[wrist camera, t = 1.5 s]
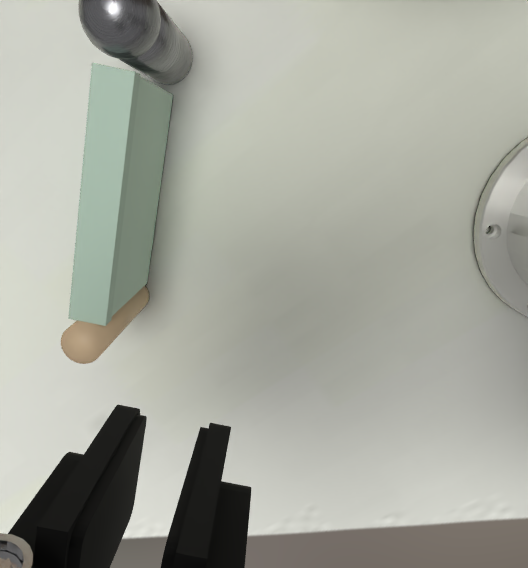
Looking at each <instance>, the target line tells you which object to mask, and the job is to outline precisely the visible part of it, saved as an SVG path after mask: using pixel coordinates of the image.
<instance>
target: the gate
mask: <svg viewBox="0 0 528 568" xmlns="http://www.w3.org/2000/svg"><path fill="white" fill-rule="evenodd" d="M172 100H173V95H172V94H170V93H169V92H167V91H165V90H163V89H162V88H160V87H158V86H157V85H155V84H153V83H151V82H150V81H148V80H146V79H144V78H143V77H141V76H140V74H138V73H136V72H134V71H129V70H124V69H120V68H115V67H110V66H105V65H101V64H96V63H92V70H91V81H90V92H89V103H88V113H87V124H86V135H85V146H84V157H83V167H82V178H81V189H80V200H79V211H78V221H77V232H76V243H75V254H74V265H73V275H72V286H71V297H70V308H69V319H73V320H77V321H76V322H75V323H74V324H73V325H71V326H70V327H69V328H68V329H66V330H65V331H64V333H63V335H62V337H61V346H62V349H63V351H64V353H65V354H66V356H67V357H68V358H70V359H71V360H73V361H74V362H77V363H82V364H86V363H91V362H93V361H95V360H96V359H97V358H98V357H99V356H100V355H101V354H102V353H103V352H104V351H105V350H106V349H107V347H108V346H109V345H110V344H111V343H112V342H113V341H114V340H115V339H116V338H117V336H118V335H119V334H120V333H121V332H122V331H123V330H124V329H125V328H126V327H127V325H128V324H129V323H130V322H131V321H132V320H133V319H134V318H135V317H136V316H137V314H138V313H139V312H140V311H141V310H142V309H143V308H144V307H145V306H146V304H147V303H148V301H149V292H148V290H147V288H146V287H145V285H146V284H147V281H148V274H149V266H150V259H151V252H152V245H153V237H154V230H155V223H156V216H157V208H158V201H159V194H160V187H161V179H162V172H163V165H164V158H165V150H166V143H167V136H168V129H169V121H170V114H171V107H172Z"/></svg>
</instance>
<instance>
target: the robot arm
mask: <svg viewBox="0 0 528 568" xmlns="http://www.w3.org/2000/svg"><path fill="white" fill-rule="evenodd" d="M489 226H490V227H491V230H490V232H489V233H486V230H487V228H488V227H489ZM474 245H475V255H476V258H477V261H478V264H479V267H480V271H481V273H482V274H483V276H484V278H485V280H486V282H487V283H488V285H489V287H490V288H491V289H492V290H493V291H494V292H495V294H496V295H497V296H498V297H499V298H500V299H501V300H502V301H503V302H505V303H506V304H508V305H509V306H510V307H512V308H513V309H514V310H516V311H518V312H519V313H521V314H522V315H524V316H526V317H528V138H527V139H525V140H524V141H522V142H521V143H520V144H519V145H518V146H517V147H516V148H515V149H514V150H512V151H511V152H510V153H509V154H508V155H507V156H506V157H505V158H504V159H503V161H502V162H501V164H500V165H499V166H498V168H497V169H496V170H495V172H494V173H493V174H492V176H491V177H490V179H489V181H488V183H487V185H486V187H485V189H484V191H483V193H482V195H481V199H480V202H479V205H478V209H477V212H476V216H475V225H474ZM145 427H146V416H142V415H140V409H137V408H132V407H127V406H122V405H117V406H116V407H115V409H114V410H113V412H112V413H111V415H110V416H109V418H108V419H107V421H106V422H105V424H104V425H103V427H102V428H101V430H100V431H99V433H98V434H97V436H96V437H95V439H94V440H93V442H92V443H91V445H90V446H89V448H88V449H87V451H86V452H85V454H84V455H83V454H78V453H73V452H69V453H67V454H66V455H65V456H64V457H63V458H62V460H61V461H60V463H59V464H58V465H57V467H56V468H55V469H54V471H53V472H52V474H51V475H50V476H49V478H48V479H47V480H46V482H45V483H44V485H43V486H42V487H41V489H40V490H39V491H38V493H37V494H36V496H35V497H34V498H33V500H32V501H31V503H30V504H29V505H28V507H27V508H26V509H25V511H24V512H23V514H22V515H21V516H20V518H19V519H18V520H17V522H16V523H15V525H14V526H13V527H12V529H11V530H10V532H9V533H8V534H2V533H0V568H110V565H111V563H112V561H113V558H114V556H115V554H116V551H117V549H118V546H119V544H120V542H121V539H122V537H123V534H124V532H125V530H126V527H127V525H128V522H129V520H130V517H131V514H132V510H133V506H134V500H135V493H136V487H137V480H138V473H139V467H140V460H141V453H142V447H143V440H144V433H145ZM230 430H231V427H229V426H224V425H219V424H214V423H210V425H209V429H208V428H203V427H200V431H199V434H198V437H197V441H196V444H195V447H194V451H193V454H192V458H191V461H190V464H189V468H188V471H187V474H186V478H185V481H184V485H183V488H182V491H181V495H180V498H179V501H178V505H177V508H176V511H175V515H174V518H173V522H172V525H171V528H170V532H169V535H168V539H167V542H166V546H165V550H164V555H163V559H162V564H161V568H244V566H245V555H246V544H247V533H248V521H249V510H250V499H251V487H248V486H242V485H237V484H232V483H227V482H222V481H221V479H222V474H223V468H224V463H225V457H226V452H227V446H228V441H229V436H230Z"/></svg>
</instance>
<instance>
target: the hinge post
mask: <svg viewBox="0 0 528 568" xmlns="http://www.w3.org/2000/svg"><path fill="white" fill-rule="evenodd" d="M79 17H80V21H81V24H82V27H83V29H84V31H85V33H86V35H87V37H88V38H89V39H90V41H91V42H92V43H93V44H94V45H95V46H96V47H97V48H98V49H99V50H101V51H102V52H103V53H105V54H107V55H109V56H111V57H114V58H118V59H120V60H121V61H123V62H125V63H126V64H128V65H130V66H131V67H133V68H135V69H136V70H138V71H140V72H141V73H143V74H144V75H146V76H148V77H149V78H151V79H153V80H154V81H156V82H158V83H161V84H174V83H177V82H179V81H181V80H182V79H183V78H185V76H186V75H187V74H188V72H189V70H190V68H191V65H192V59H193V57H192V49H191V46H190V44H189V42H188V40H187V39H186V37H185V36H184V35H183V34H182V32H181V31H180V30H179V29H178V27H177V26H176V25H175V23H174V22H173V21H172V20H171V18H170V17H169V16H168V15H167V13H166V12H165V11H164V10H163V8H162V7H161V6H160V5H159V3H158V2H157V0H79Z"/></svg>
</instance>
